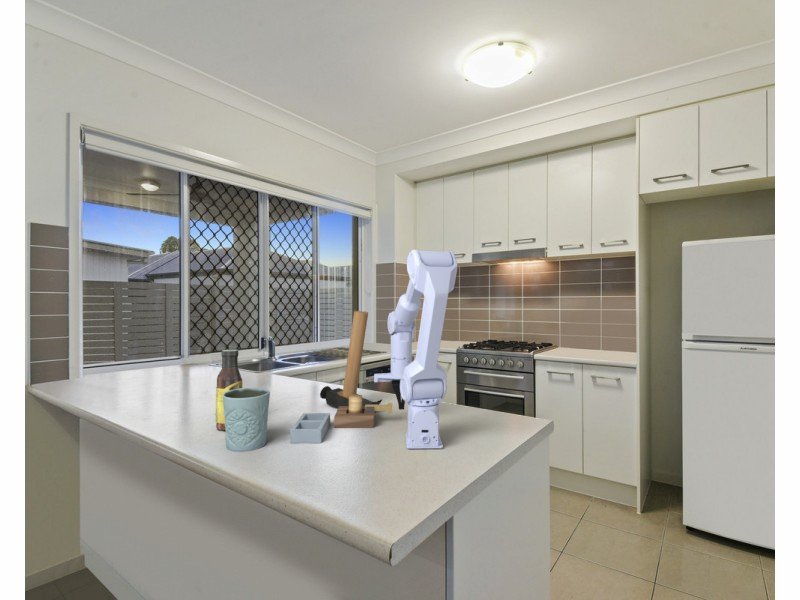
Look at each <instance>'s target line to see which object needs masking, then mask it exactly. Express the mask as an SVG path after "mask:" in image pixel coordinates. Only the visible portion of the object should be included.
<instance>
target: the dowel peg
mask: <svg viewBox="0 0 800 600" xmlns="http://www.w3.org/2000/svg"><path fill="white" fill-rule="evenodd" d="M362 398H363V395H362V394H358V395H350V396H349V413H362Z"/></svg>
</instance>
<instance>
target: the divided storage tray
mask: <svg viewBox="0 0 800 600" xmlns="http://www.w3.org/2000/svg"><path fill="white" fill-rule="evenodd" d="M330 426H331V412H314V413H312V412H310V413H309V412H303V413H302V414H301V416H300V417H299V418H298V419H297V420H296V422H295V423H294V425H293V426H292V427H291V429H290V432H289V434H290V435H289V438H290V439H289V441H290V442H289V443H290V444H321V443H322V442H323V440H324V438H325V436H326V434H327V431H328V429H329V427H330Z"/></svg>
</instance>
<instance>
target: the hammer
mask: <svg viewBox="0 0 800 600" xmlns="http://www.w3.org/2000/svg"><path fill="white" fill-rule="evenodd" d="M368 316H369V311H361V310H354V311H353V318H352V324H351V331H350V339H349V343H348V344H349V347H348V354H347V360H346V365H345V366H346V367H345V375H344V381H343V387H342V388H340V387H337V388H334V389H332V388H331V387H330V386H328V385H326V386H324V387H322V388H321V390H320V393H319V398H321V399H323V400H325V402H326V403H325V404H326V405H329V406H331V407H334V408H336V409H338V408H339V406H349V396H350V395H359V393H357V391H358V386H359V378H360V372H361V365H362V359H363V352H364V344H365V337H366V332H367V323H368ZM382 401H383V399H379V400H376V401H372V400H369V399H367V398H364V397H362V406H365V405H366V404H375V405H381V403H382Z"/></svg>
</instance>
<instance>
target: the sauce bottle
mask: <svg viewBox="0 0 800 600" xmlns="http://www.w3.org/2000/svg"><path fill="white" fill-rule="evenodd" d="M220 354H221V358H222V359H221V369H220V371H219V372H218V375H217V377H216V386H215V387H216V389H215V390H216V391H215V423H216V424H215V428H216V430H218V431H225V416H224V409H223V396H222V395H223V394H224V393H225V392H227V391H230V390H234V389H240V388H243V378H242V375H241V373H240V369H239V365H238V360H239V359H238V356H239V349H223V350H221V353H220Z"/></svg>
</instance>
